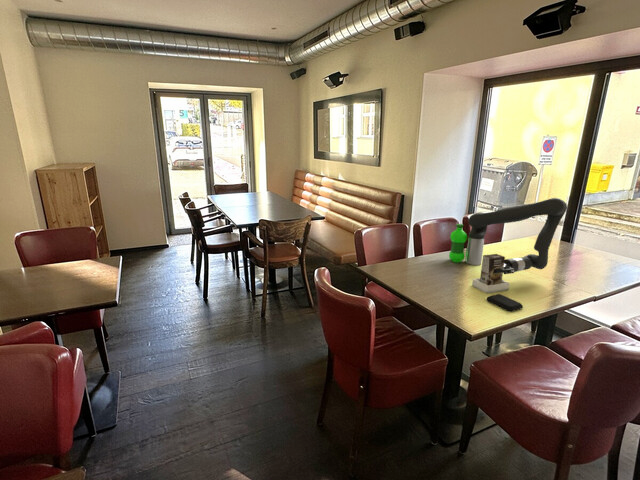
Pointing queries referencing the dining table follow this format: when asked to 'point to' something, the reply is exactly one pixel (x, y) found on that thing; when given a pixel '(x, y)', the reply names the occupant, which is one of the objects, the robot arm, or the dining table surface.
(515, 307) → the carrying case or bag
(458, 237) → the plastic bottle
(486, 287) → the white rectangular tray
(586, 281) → the dining table surface
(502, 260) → the coffee box
